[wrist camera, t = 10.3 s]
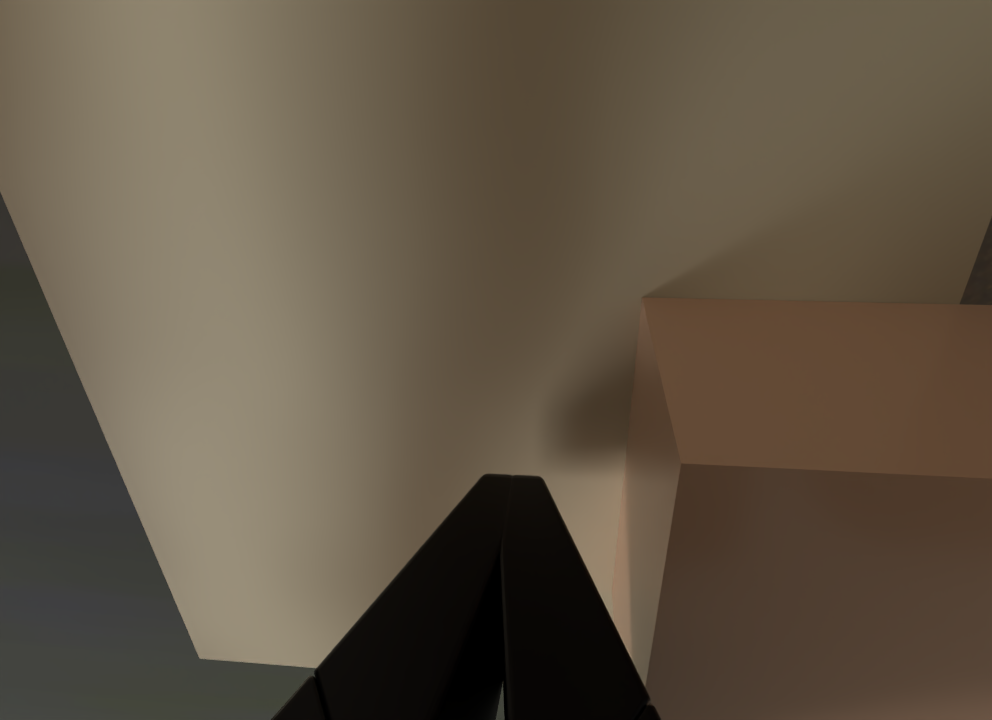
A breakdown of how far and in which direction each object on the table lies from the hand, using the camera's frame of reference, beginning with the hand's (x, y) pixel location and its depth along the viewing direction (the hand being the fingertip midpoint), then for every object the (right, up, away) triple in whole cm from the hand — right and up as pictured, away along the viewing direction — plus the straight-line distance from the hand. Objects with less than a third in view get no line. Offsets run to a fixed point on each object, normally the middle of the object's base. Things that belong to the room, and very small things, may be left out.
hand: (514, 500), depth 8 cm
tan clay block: (+4, 0, 0) cm, 4 cm away
